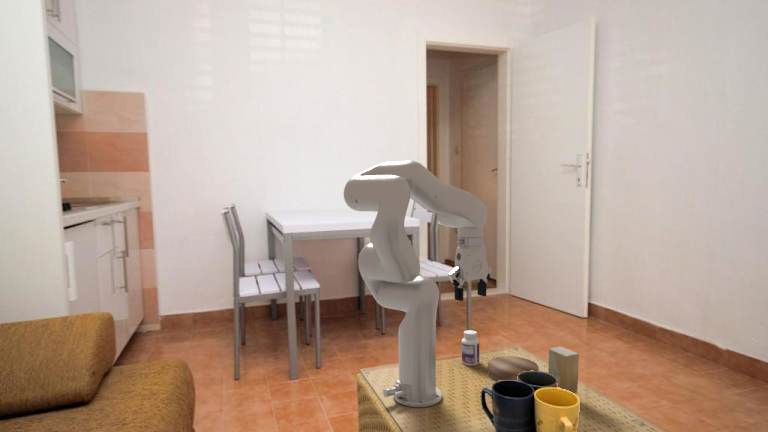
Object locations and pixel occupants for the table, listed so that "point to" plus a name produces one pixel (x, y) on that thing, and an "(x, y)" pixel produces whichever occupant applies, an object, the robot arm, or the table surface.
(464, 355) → the pill bottle
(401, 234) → the robot arm
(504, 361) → the walnut base
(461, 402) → the table surface
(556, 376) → the skincare box
